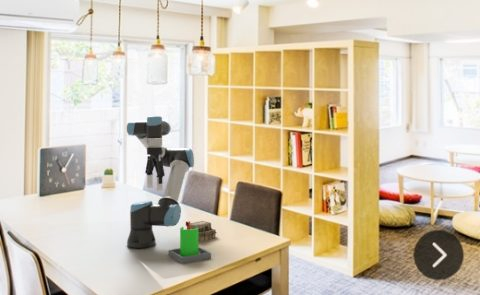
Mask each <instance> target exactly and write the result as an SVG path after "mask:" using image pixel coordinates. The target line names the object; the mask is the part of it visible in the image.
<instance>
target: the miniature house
mask: <svg viewBox="0 0 480 295" xmlns="http://www.w3.org/2000/svg"><path fill="white" fill-rule="evenodd" d="M190 226H191V229H196V228H198V243H199V242H200V243H202V242H207V241H208V240H211V239H215V238H216V234H217V230H216V229H214V228H212V222H209V221H204V220H201V221H195V222H190Z"/></svg>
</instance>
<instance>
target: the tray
mask: <svg viewBox="0 0 480 295" xmlns="http://www.w3.org/2000/svg"><path fill="white" fill-rule="evenodd" d="M168 256H169V257H170V258H172V259H173V260H175V261H176V262H178V263H179V264H181V265H183V264H189V263H194V262H200V261H206V260H211V259H212V252H210V251H208V250H207V249H204V248H202V247H200V246H198V254H197V255H191V256H185V257H182V256H180V247H179V248H173V249H168Z"/></svg>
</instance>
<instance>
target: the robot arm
mask: <svg viewBox="0 0 480 295" xmlns="http://www.w3.org/2000/svg"><path fill="white" fill-rule="evenodd" d="M171 129H172V128H171V125H170V123H169V122H167V121H165V120H163V117H162V116H160V115H159V116H158V115H149V116H147V118H146V120H143V121H142V120H139V121H138V120H133V121H128V122H127V124H126V133H127V134H128V136H133V137H134V136H135V137H136V139H138V140H139V142H140V143H141V144H142V145H143V146H144V147H145V149H146V155H148V156H147V161H146V167H145V172H144V174H146V187H147V189H151V188H152V189H153V180H154V177H153V175H154V170H155V172H156V176H155V177H156V191H158V192H159V191H163V190H164V192H163V196H162V197H161V198H159V200H158V202H157V203H153V201H152V200H144V201H139V202H134V203H132V204H131V205H130V212H129V213H130V214H129V216H130V217H129V220H130V226H129V227H130V231H129V235H128V237H127V241H126V245H127V247H129V248H136V249H138V248H149V247H152V246H154V245H156V236H155V233H154V231H153V226H155V227H156V226H157V227H174V226H176V225H178V223H179V222H180V219H181V217H182V216H181V215H182V208H181V205H180V203H179V202H178V201H179V198H180V193H181V191H182V186H183V184H184V179H185V175H186V173H187V172H189V170H190V168H194V165H195V156H194V151H193V149H192V148H188V147H187V148H186V147H184V148H181V147H180V148H176V147H175V148H173V147H170V148H169V147H164V146H163V137H164V136H167V135H168V134H170V132H171ZM164 167H167V168H170V172H169V175H168V178H167V182H166V186H165V188H164V189H163V185H164V184H163V183H164V180H163V179H164V177H165V169H164Z"/></svg>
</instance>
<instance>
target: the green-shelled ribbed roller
mask: <svg viewBox="0 0 480 295" xmlns="http://www.w3.org/2000/svg"><path fill="white" fill-rule="evenodd" d="M190 223H191V221H189V220H187V221H185V227H186V229H185V228H184V226H182V227H180V228H179V230H180V231H179V236H180V237H179V238H180V239H179V244H180V245H179V248H180V256H182V257H185V256H191V255H197V254H198V253H199V252H198V247H199V241H198V228H196V229H191V226H190Z"/></svg>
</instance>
